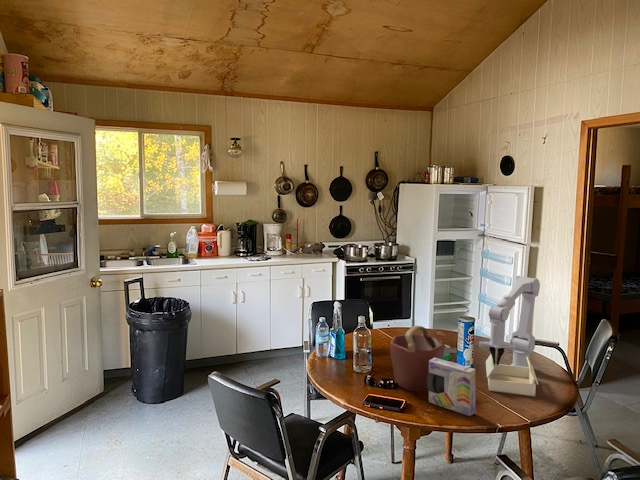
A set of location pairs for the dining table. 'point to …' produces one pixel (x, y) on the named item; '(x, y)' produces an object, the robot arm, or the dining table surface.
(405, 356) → the bucket
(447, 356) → the food container
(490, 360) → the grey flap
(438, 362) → the cake pan box
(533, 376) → the cream flap
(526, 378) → the carton
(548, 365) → the dining table surface
